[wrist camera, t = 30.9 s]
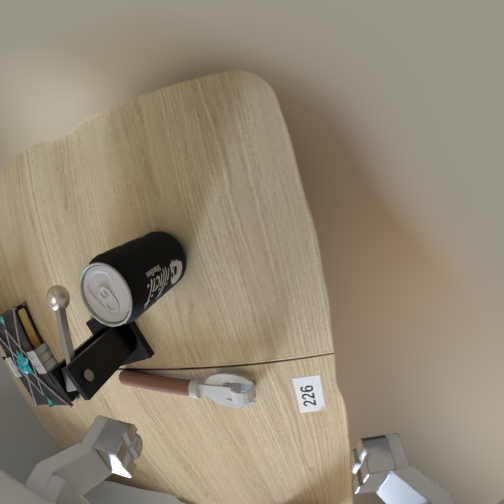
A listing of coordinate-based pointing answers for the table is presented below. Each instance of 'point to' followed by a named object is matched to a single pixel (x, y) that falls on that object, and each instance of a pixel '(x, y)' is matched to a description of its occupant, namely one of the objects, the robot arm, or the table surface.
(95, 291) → the beverage can
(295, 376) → the table surface
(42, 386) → the book
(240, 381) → the pizza cutter
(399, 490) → the robot arm
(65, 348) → the lever
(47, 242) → the table surface
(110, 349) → the black lever stand
